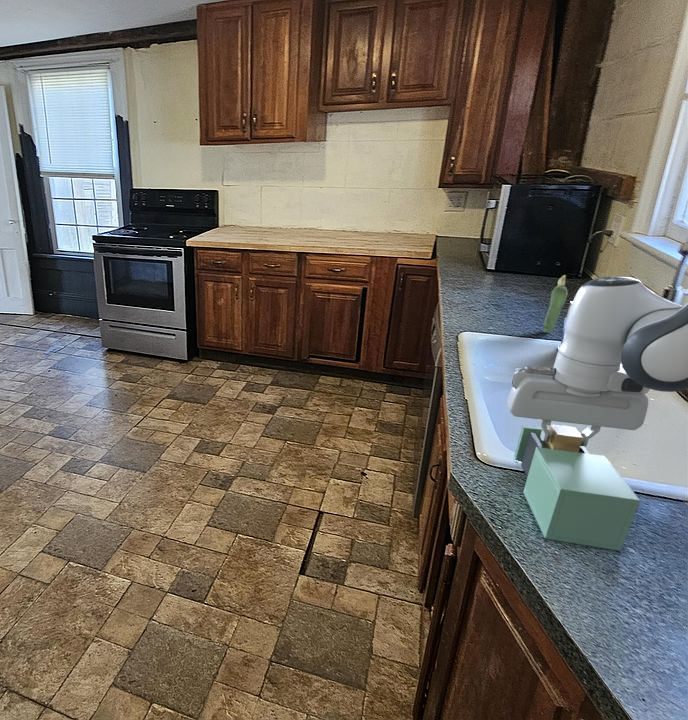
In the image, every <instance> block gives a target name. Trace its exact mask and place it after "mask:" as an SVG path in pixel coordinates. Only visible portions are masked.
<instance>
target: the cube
mask: <svg viewBox="0 0 688 720" xmlns="http://www.w3.org/2000/svg"><path fill="white" fill-rule="evenodd" d="M548 428H549V430H552V432H553V433H554V437H553V441H552V442H546V441H545V444H546V446H547V448H548V449H555V450H563V451H570V452H579V449H580V446H581V443H582V440H583V437H582V436H581V435H580V433H581V432H579V431H578V429H577V428H576V427H575V426H570V425H563V424H562V425H561V424H554V423H551V424H550V425H548Z"/></svg>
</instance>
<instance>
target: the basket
mask: <svg viewBox="0 0 688 720" xmlns="http://www.w3.org/2000/svg"><path fill="white" fill-rule="evenodd" d="M547 429H549V427H547ZM541 432H542V428H541V426H536V425H528V424H522V426H521V429H520V433H519V437H518V440H517V445H516V448H515V451H514V456H513V458H514V457H515V460H518V461H521V462H522V463H520V464H521V465H520V466H521V468H522V470H523V472H524V474H525V477H526V478H527V477H528V474H529V470H530V467H531V463H532V460H533V456H534V453H535V449H536V447H540V448H547V446H546V444H545V441H542V440H541V437H540V435H541ZM547 449H548V448H547ZM578 453H586V454H590V453H589V451H588V450H587V448H586V446H580V449H579V452H578ZM515 463H518V462H515ZM518 464H519V463H518Z"/></svg>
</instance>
